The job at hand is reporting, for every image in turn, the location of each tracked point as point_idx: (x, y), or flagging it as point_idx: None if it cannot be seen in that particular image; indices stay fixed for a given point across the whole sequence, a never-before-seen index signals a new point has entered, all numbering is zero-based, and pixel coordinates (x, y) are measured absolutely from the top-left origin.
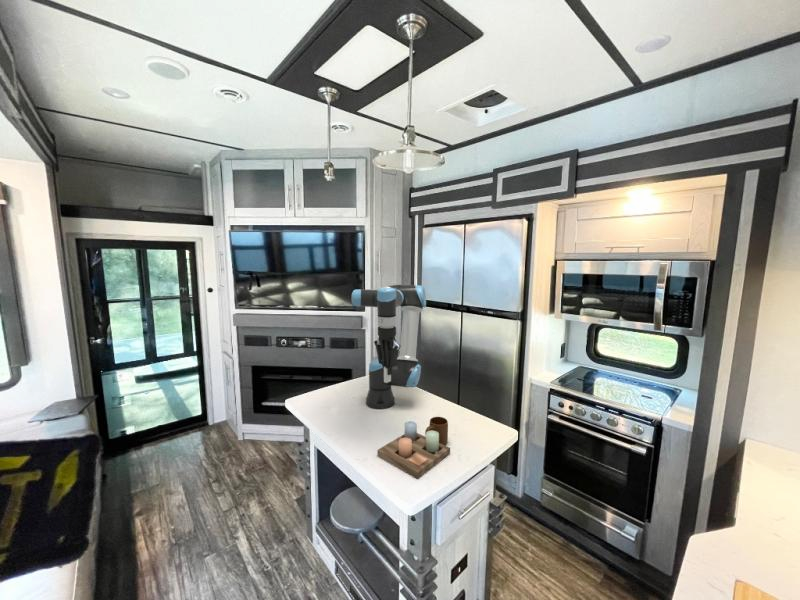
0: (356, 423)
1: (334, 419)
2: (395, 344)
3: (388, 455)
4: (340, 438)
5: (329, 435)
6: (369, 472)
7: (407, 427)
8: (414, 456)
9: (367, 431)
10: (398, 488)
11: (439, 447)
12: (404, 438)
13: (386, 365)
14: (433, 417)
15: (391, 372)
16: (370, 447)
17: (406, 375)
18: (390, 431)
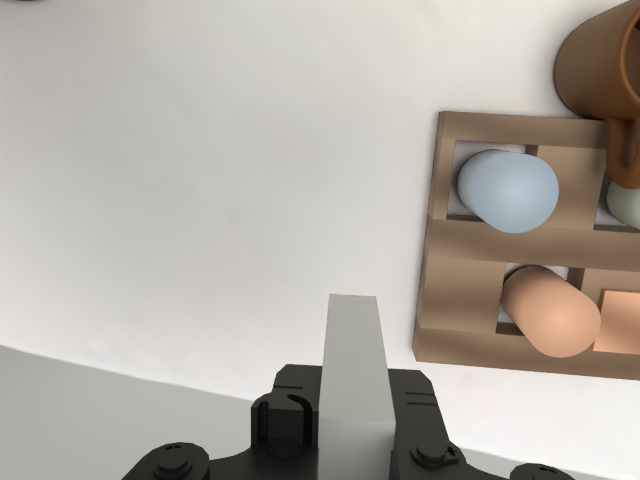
0: (124, 201)
1: (8, 244)
2: None
3: (486, 364)
4: (181, 346)
5: (123, 358)
6: (457, 440)
7: (517, 232)
8: (605, 314)
9: (229, 225)
10: (607, 445)
11: None
12: (545, 307)
13: (318, 475)
14: (630, 32)
15: (431, 399)
16: None
17: None
18: (322, 149)
